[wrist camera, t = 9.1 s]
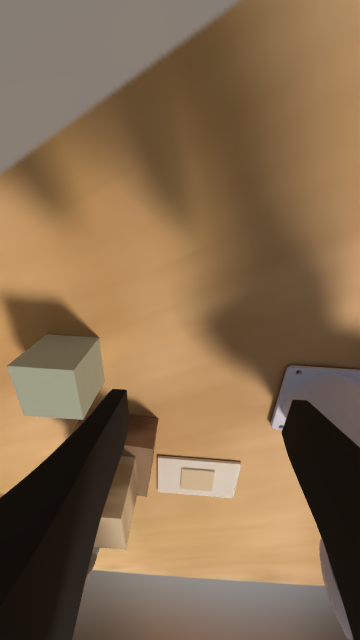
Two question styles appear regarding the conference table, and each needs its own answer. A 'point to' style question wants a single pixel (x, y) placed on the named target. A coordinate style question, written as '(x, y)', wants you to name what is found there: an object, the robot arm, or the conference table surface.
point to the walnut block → (139, 446)
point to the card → (197, 476)
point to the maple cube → (119, 506)
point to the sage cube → (58, 376)
